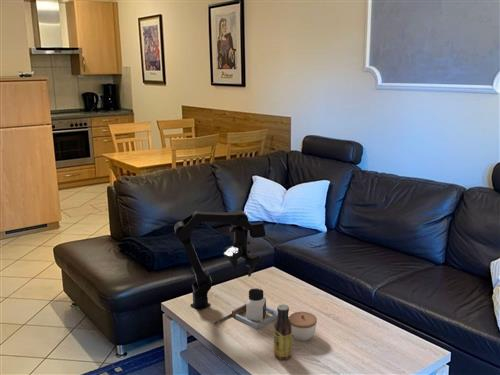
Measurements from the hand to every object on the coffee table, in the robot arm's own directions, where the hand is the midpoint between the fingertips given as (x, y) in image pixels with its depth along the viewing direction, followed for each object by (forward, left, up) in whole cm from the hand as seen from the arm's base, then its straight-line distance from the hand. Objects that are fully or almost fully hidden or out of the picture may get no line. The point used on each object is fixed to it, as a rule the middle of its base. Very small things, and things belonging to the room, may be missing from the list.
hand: (241, 273), depth 215 cm
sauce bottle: (+41, -20, -13) cm, 48 cm away
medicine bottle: (+14, -6, -13) cm, 20 cm away
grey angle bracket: (+14, -6, -13) cm, 20 cm away
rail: (+6, -11, -13) cm, 18 cm away
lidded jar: (+38, -5, -13) cm, 41 cm away
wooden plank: (+7, -6, -13) cm, 16 cm away
